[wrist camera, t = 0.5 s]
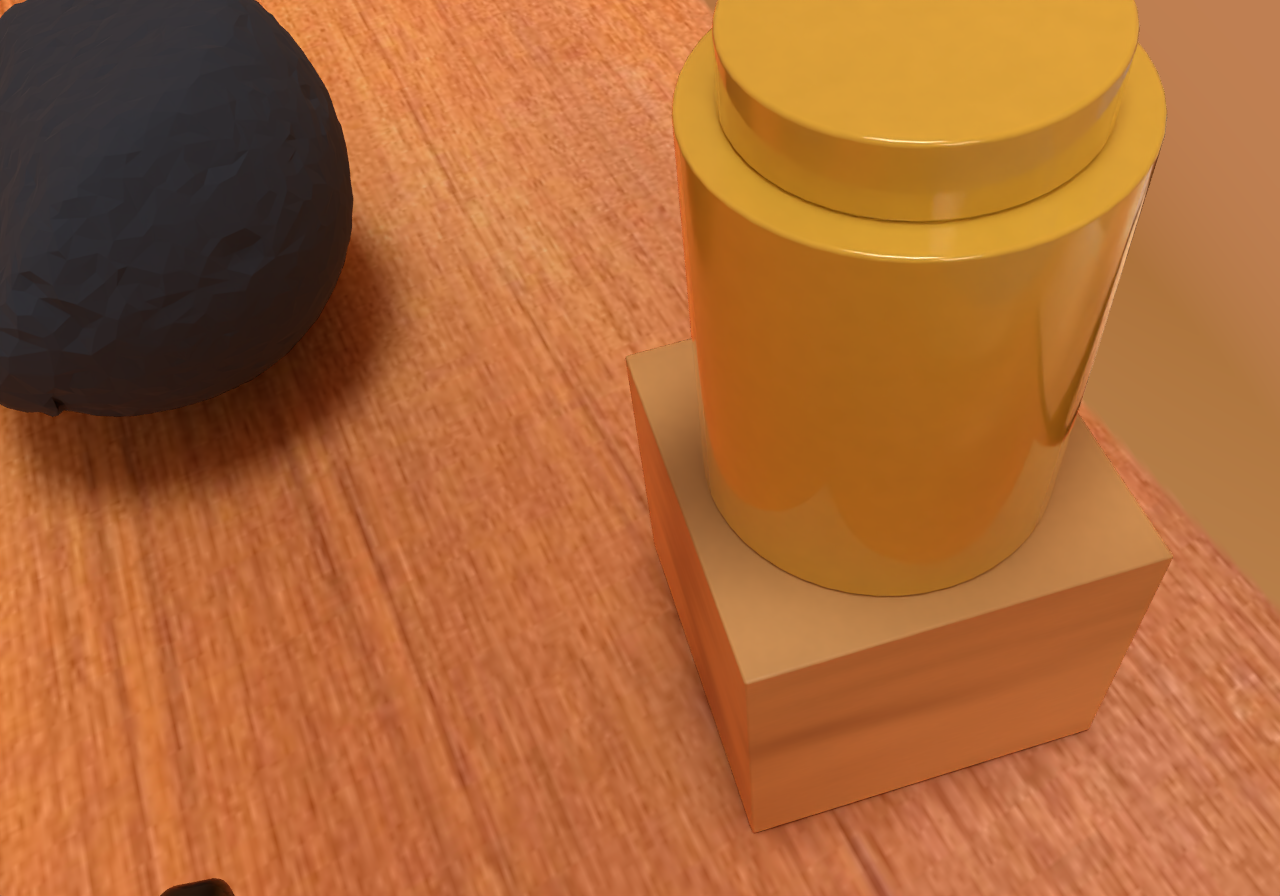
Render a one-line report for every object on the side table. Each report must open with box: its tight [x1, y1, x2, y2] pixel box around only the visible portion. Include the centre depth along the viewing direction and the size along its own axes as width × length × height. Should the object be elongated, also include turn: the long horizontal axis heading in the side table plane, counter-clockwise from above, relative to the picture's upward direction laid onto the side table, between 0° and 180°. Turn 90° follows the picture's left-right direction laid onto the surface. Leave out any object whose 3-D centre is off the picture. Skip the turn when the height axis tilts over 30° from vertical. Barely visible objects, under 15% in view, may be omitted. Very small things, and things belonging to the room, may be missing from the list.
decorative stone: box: [0, 0, 353, 417], centre depth 31 cm, size 12×12×10 cm
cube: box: [626, 339, 1173, 833], centre depth 25 cm, size 8×8×7 cm
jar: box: [672, 0, 1167, 596], centre depth 18 cm, size 6×6×9 cm
